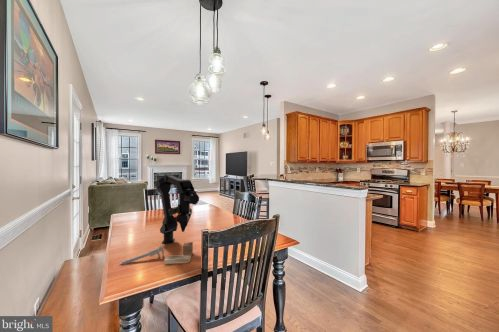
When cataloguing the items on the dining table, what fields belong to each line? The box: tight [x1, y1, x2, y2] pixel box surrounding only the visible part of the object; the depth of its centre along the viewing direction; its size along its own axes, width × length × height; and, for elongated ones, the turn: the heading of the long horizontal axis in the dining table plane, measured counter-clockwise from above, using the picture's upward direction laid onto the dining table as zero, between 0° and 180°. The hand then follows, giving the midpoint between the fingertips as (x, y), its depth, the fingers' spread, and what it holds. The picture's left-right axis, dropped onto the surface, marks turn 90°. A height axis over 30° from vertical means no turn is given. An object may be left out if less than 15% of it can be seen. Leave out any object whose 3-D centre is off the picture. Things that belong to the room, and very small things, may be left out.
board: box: [164, 254, 191, 265], centre depth 106 cm, size 4×12×2 cm, turn 98°
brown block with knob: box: [182, 241, 194, 257], centre depth 113 cm, size 4×4×6 cm
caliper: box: [118, 245, 165, 266], centre depth 107 cm, size 20×1×6 cm, turn 119°
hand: (184, 229), depth 119 cm, fingers open, 9 cm apart
